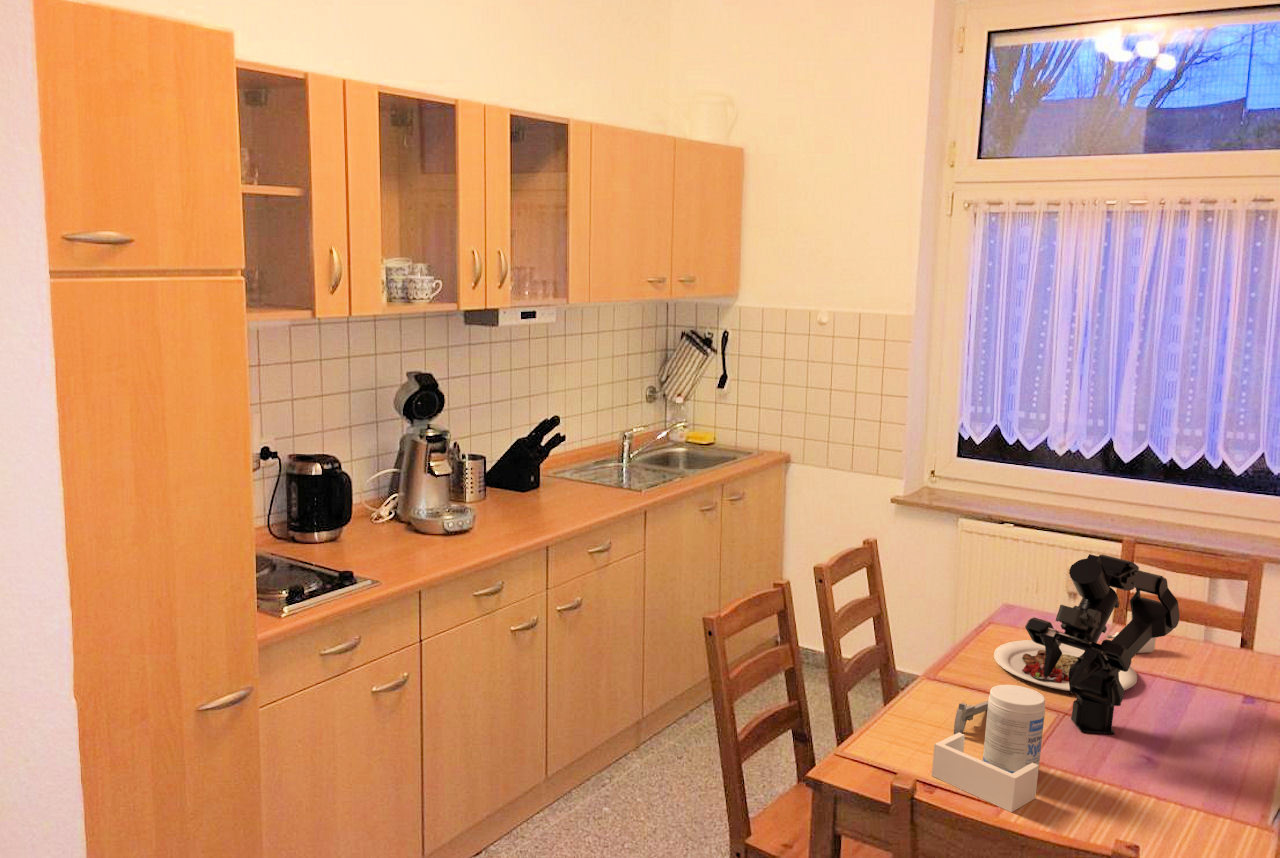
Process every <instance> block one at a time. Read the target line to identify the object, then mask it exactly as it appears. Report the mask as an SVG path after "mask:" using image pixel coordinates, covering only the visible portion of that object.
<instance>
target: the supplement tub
mask: <svg viewBox="0 0 1280 858" xmlns="http://www.w3.org/2000/svg"><path fill="white" fill-rule="evenodd" d="M987 701H988V710H987V711H986V712H987V713H986V720H985V721H986V723H985V733H984V734H985V735H984V743H983V744H984V745H983V755H982V761H984V762H986V763H989V764H991V765H993V766H996V767H998V768H1000V769H1003V770H1005V771H1007V772H1010V773H1014V772H1016V771H1018V770H1020V769H1022V768H1023V767H1025V766H1027V765H1029V764H1031V763H1035V764H1037V765H1039V766H1040V762H1041V761H1040V759H1041V753H1042V752H1041V751H1042V750H1041V749H1042V742H1043V731H1044V724H1045V715H1046V699H1045V696H1044V695H1043V694H1041V693H1040V692H1039V691H1036V690H1035V689H1032V688H1029V687H1026V686H1021V685H1016V684H1015V685H1014V684H999V685H995V686H992V687H991V689H990V691H989V696H988V699H987ZM1039 769H1040V768H1039ZM1039 769H1038V772H1039V771H1040V770H1039Z"/></svg>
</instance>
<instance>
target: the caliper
mask: <svg viewBox="0 0 1280 858" xmlns="http://www.w3.org/2000/svg"><path fill="white" fill-rule="evenodd" d="M987 711H988V700H985V701H982V702H979V703H977V704H974V705H973V704H967V703H965V702H960V703H958V709H957V708H956V713H955V719H954V725H953V726H954V728H953V735H955V734H957V733H959V732H960V733H963V734H964V732H965V728H966V724H967V721H968V722H969V721H973V719H974V716H976V715H979V714H981V713H984V712H987Z"/></svg>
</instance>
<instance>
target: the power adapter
mask: <svg viewBox="0 0 1280 858" xmlns="http://www.w3.org/2000/svg"><path fill="white" fill-rule="evenodd" d="M1119 632H1120V631H1117V632H1115V633H1114V635H1113V634H1109V635H1108V634H1107V635H1106V638H1107V639H1114V638H1115V637H1116V636H1117V634H1118V633H1119ZM1156 638H1157V637H1156ZM1156 638H1151V639H1150V640H1149V641H1148V642H1147V643H1146V644H1145V645H1144V646H1143V647H1142V648H1141V649H1140V650H1139V652H1138V653H1137V654H1146V653H1147V654H1150V653H1153V652H1154V650H1155V648H1156V647H1155V645H1156V640H1157V639H1156Z"/></svg>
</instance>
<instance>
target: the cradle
mask: <svg viewBox="0 0 1280 858" xmlns="http://www.w3.org/2000/svg"><path fill="white" fill-rule="evenodd" d="M965 737H966V734H964V733H963V734H962V733H960V732H959V733H957V734H953V735H950V736H948V737H947V738H944V739H942V740H940V741H938V742H936V743H934V745H933V746H934V748H933V757H932V768H931V769H932V770H931V776H932V777H933V778H935V779H937V780H939V781H941V782H944V783H947V784H948V785H950V786H953V787H955V788H957V789H960V790H962V791H964V792H967V793H968V794H970V795H973V796H975V797H977V798H978V799H979V798H980V799H981V800H983V801H986V802H988V803H990V804H993V805H995V806H997V807H999V808H1000V809H1003V810H1005V811H1007V812H1009V813H1013V812H1015V811H1017V809H1019V808H1021V807H1023V806H1024V805H1026V804H1028V803H1030V802H1031V801H1033V800H1035V799H1036V795H1037V794H1036V793H1037V787H1038V778H1039V777H1038V776H1039V771H1038V769H1040V764H1039V765H1037V764H1035V763H1031V764H1029V765H1027V766H1025V767H1023V768H1022V769H1020V770H1018V771H1016V772H1014V773H1010V772H1007V771H1005V770H1003V769H1000V768H998V767H996V766H993V765H991V764H989V763H986V762H984V761H983V759H982V760H981V759H979V758H977V757H974V756H972V755H970V754H967V753H965V752H964V749H965V740H966V738H965Z"/></svg>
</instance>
